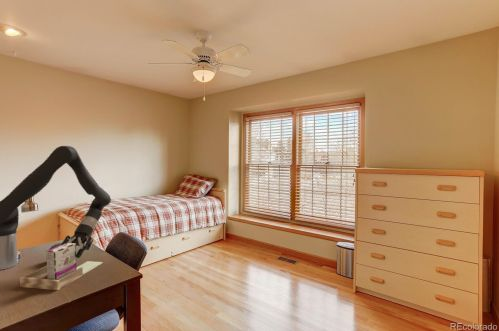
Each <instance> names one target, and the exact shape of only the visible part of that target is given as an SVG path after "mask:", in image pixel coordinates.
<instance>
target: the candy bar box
mask: <svg viewBox="0 0 499 331" xmlns="http://www.w3.org/2000/svg"><path fill="white" fill-rule="evenodd" d="M76 254H77V246H76V244H75V243H66V244H64V245H61V246H58V247H56V248H53V249H51V250H49V249H48V250H46V266H47V279H52V280H59V279H61V278H62V277H64V276H66V275H68V274H70V273H72V272H73V271H75V270H76V267H77V258H76V257H75V256H76Z"/></svg>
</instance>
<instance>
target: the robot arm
mask: <svg viewBox="0 0 499 331" xmlns="http://www.w3.org/2000/svg"><path fill="white" fill-rule="evenodd" d="M66 164H67V165H68V166H69V167H70V169H71V170H72V171H73V173H74V174H75V176H76V178H77V181H78V183H79V185H80V186H81V187H82V189H83V191H85V193H86V194H87V195H89V196H90V195H92V196H93V197H94V199H93V200H92V201H91V203H90V205H89V207H88V210H87V212H86V213H85V215H84V216H83V218H82V219H81V220H80V222H79V224H78V225H77V227H76V229H75V231H74V232H73V235H72V236H70V235H66V236H65V237H64V239H63V240H62V242H61V243H62V244H61V245H64V244H66V243H75V244H76V247H77V246H78V247H79V249H78V251H76V256H75V257H76V259H80V258H81V257H82V255H83V253H84V251H89V250H90V248H91V246H92V244H93V242H94V238H93V237H92V236H91V235H92V234H93V232H94V230H95V229H96V226H97V225H98V223H99V220H100V219H101V216H102V215H103V213H102V211H103V209H104V208H105V207H107V206H108V205H109V204H110V203H111V202H112V199H111V195H110V194H109V193H108V192H107V191H105V190H104V189H103V188H102V187H100V185H99V184H98V182H97V181H96V180H95V178H94V177H93V176H92V175H91V174H90V172H89V170H88V169H87V167H86V165H85V164H84V163H83V160H82V158H81V157H80V155H79V153H78V151H77V149H76V148H75V147H72V146H69V145H61V146H57V147H55V149H54V150H52V152H51V153H50V155H49V156H47V158H46V159H45V160H44V161H43V162H42V163H41V164H40V165H38V166H37V167H36V168H35V169H34V170H33V171H32V172H31V173H30V174H28V175H27V176H26V177H25V178H24V179H23V180H22V181H20V183H19V184H18V185H17V186H16V187H14V189H13V190H12V191H10V192H9V193H8V194H7V195H6V196H5V197H4V198H3V199H1V200H0V270H1V271H2V270H6V269H10V268H13V267H15V266H17V264H18V239H17V236H18V235H17V232H18V231H17V229H18V227H19V215H20V213H19V208H18V207H20V206H21V205H22V204H24V203H25V202H27V201H28V200H30V199H31V198H33V197H34V196H36V195H38V193H40V192H41V191H42V190H43V189H44V188H45V187H46V186H47V185H48V184H49V183H50V182H51V180H52V178H53V176H54V175H55V173H56V172H57V171H59V169H60V168H62V167H63V166H64V165H66ZM61 245H60V246H61Z"/></svg>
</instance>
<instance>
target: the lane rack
mask: <svg viewBox="0 0 499 331" xmlns="http://www.w3.org/2000/svg"><path fill="white" fill-rule="evenodd" d="M83 276H84V274H83V268H82V267H81V268H79V269H77V270H75V271H73V272H72V273H70V274H68V275H66V276H64V277H62V278H61V279H59V280H52V279H47V265H45V266H43V267H41V268H38V269H37V270H34V271H32V272H30V273H28V274H25V275H24V276H21V277H20V278H19V287H21V288H30V289H42V290H50V291H52V290H53V291H59V290H60V289H63V288H64V287H66V286H68V285H69V284H71V283H73V282H74V281H76V280H78V279H79V278H81V277H83Z"/></svg>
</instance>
